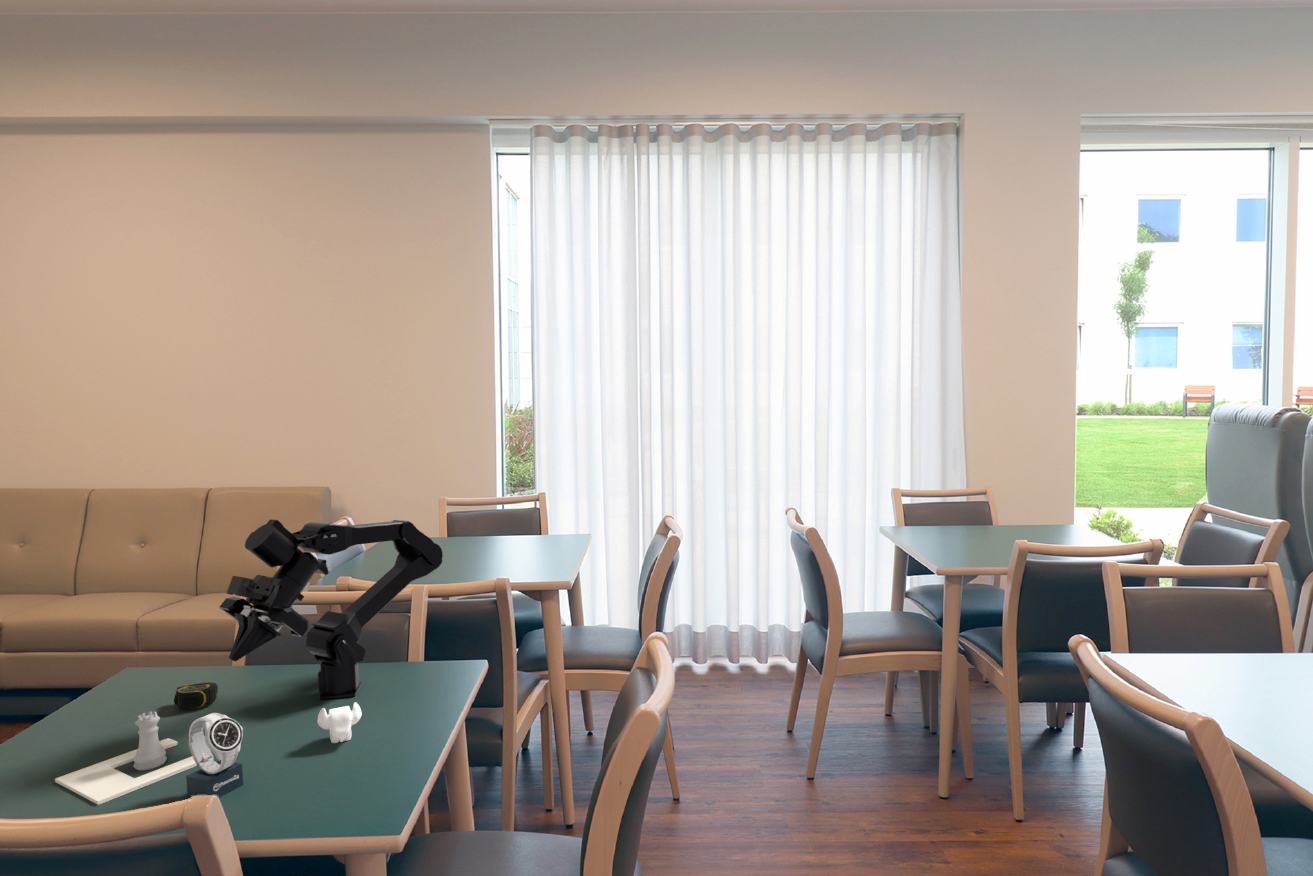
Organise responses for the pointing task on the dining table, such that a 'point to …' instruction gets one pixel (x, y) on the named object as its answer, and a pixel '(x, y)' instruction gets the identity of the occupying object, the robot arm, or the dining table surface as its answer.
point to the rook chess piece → (148, 743)
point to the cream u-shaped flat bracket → (118, 776)
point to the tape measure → (195, 695)
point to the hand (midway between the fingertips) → (232, 660)
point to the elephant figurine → (339, 721)
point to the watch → (225, 745)
